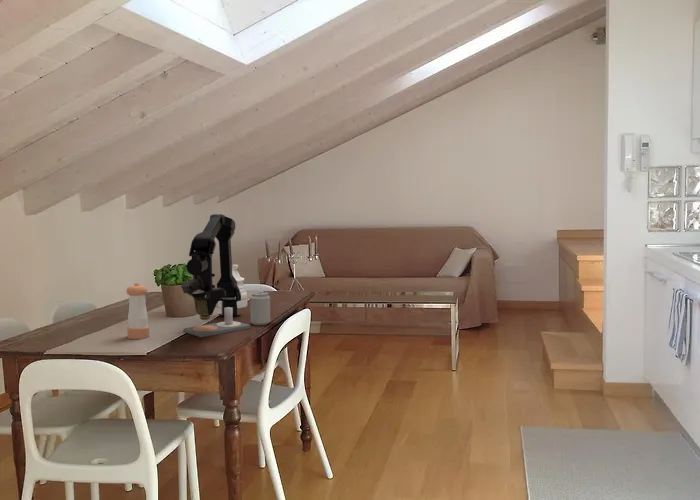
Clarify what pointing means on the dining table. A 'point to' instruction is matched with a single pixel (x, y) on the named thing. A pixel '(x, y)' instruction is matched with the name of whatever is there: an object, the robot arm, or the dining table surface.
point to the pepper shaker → (137, 312)
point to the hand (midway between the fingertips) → (205, 313)
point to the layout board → (218, 326)
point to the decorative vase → (202, 308)
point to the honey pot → (241, 287)
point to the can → (260, 308)
